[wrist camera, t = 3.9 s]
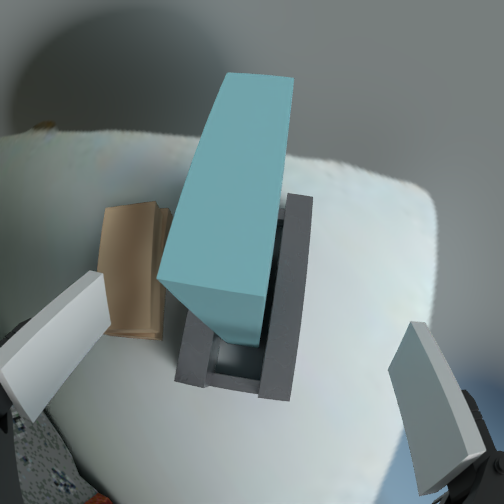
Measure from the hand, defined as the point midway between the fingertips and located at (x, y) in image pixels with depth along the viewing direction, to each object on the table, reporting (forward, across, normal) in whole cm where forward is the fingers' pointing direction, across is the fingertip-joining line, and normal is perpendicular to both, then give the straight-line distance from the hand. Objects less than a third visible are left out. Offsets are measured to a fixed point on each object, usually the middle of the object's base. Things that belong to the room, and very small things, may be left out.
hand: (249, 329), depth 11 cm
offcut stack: (+11, -11, -5) cm, 16 cm away
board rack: (+11, -1, -5) cm, 12 cm away
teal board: (+11, -1, -5) cm, 12 cm away
